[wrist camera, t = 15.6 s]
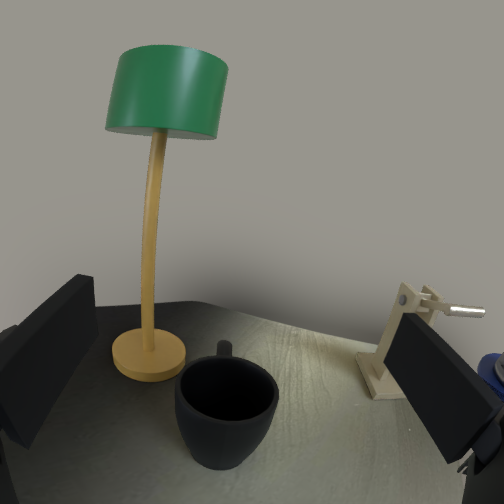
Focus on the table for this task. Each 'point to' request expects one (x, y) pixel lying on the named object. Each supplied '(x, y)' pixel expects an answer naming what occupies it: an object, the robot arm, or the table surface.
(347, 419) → the table surface
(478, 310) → the switch
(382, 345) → the beige wooden upright stand
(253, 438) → the mug
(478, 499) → the robot arm
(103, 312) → the table surface
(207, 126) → the lamp
